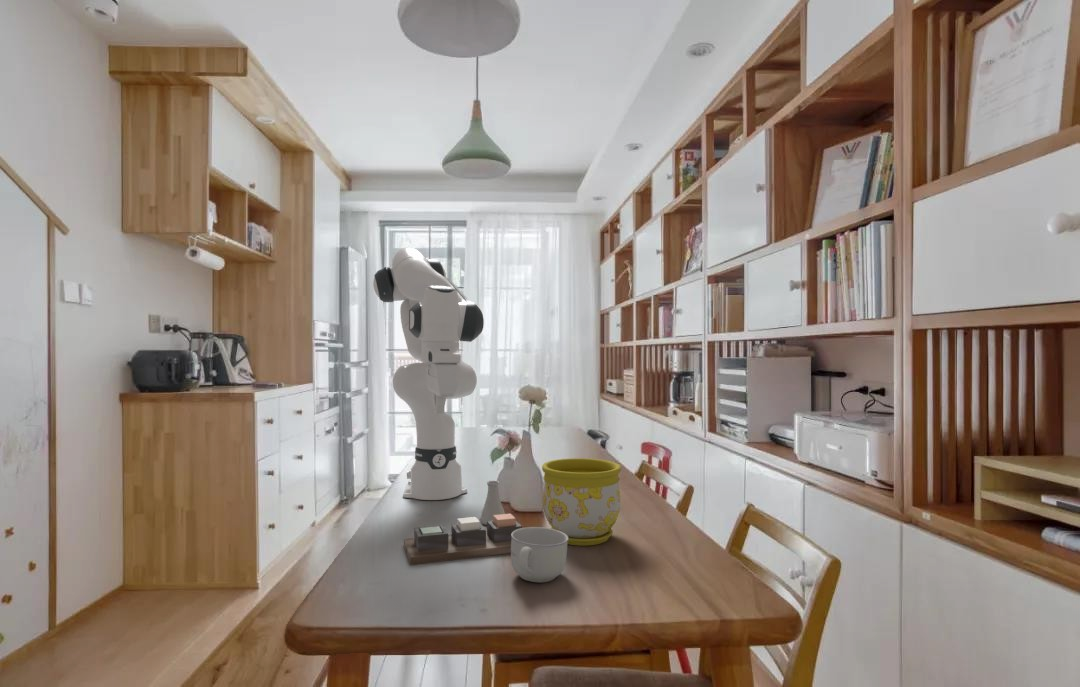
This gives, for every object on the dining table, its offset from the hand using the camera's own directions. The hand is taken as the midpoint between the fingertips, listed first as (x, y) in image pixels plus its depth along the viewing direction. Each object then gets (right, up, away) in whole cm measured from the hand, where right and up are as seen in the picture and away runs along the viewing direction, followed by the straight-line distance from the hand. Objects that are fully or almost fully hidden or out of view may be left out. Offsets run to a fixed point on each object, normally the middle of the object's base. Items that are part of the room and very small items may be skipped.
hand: (439, 412), depth 138 cm
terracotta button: (+16, -24, -9) cm, 30 cm away
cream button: (+8, -24, -12) cm, 28 cm away
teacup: (+23, -28, -29) cm, 46 cm away
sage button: (+1, -25, -15) cm, 29 cm away
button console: (+8, -28, -12) cm, 31 cm away
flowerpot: (+33, -28, -4) cm, 44 cm away
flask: (+12, -28, +7) cm, 32 cm away
